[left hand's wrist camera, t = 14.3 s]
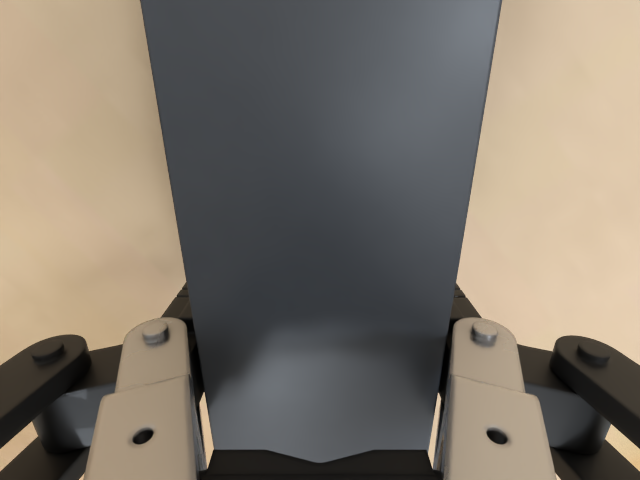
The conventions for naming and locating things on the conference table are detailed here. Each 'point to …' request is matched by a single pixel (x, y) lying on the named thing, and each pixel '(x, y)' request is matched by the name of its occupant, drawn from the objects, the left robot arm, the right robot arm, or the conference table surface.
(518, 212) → the conference table surface
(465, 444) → the left robot arm
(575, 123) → the conference table surface
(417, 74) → the bar
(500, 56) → the conference table surface
